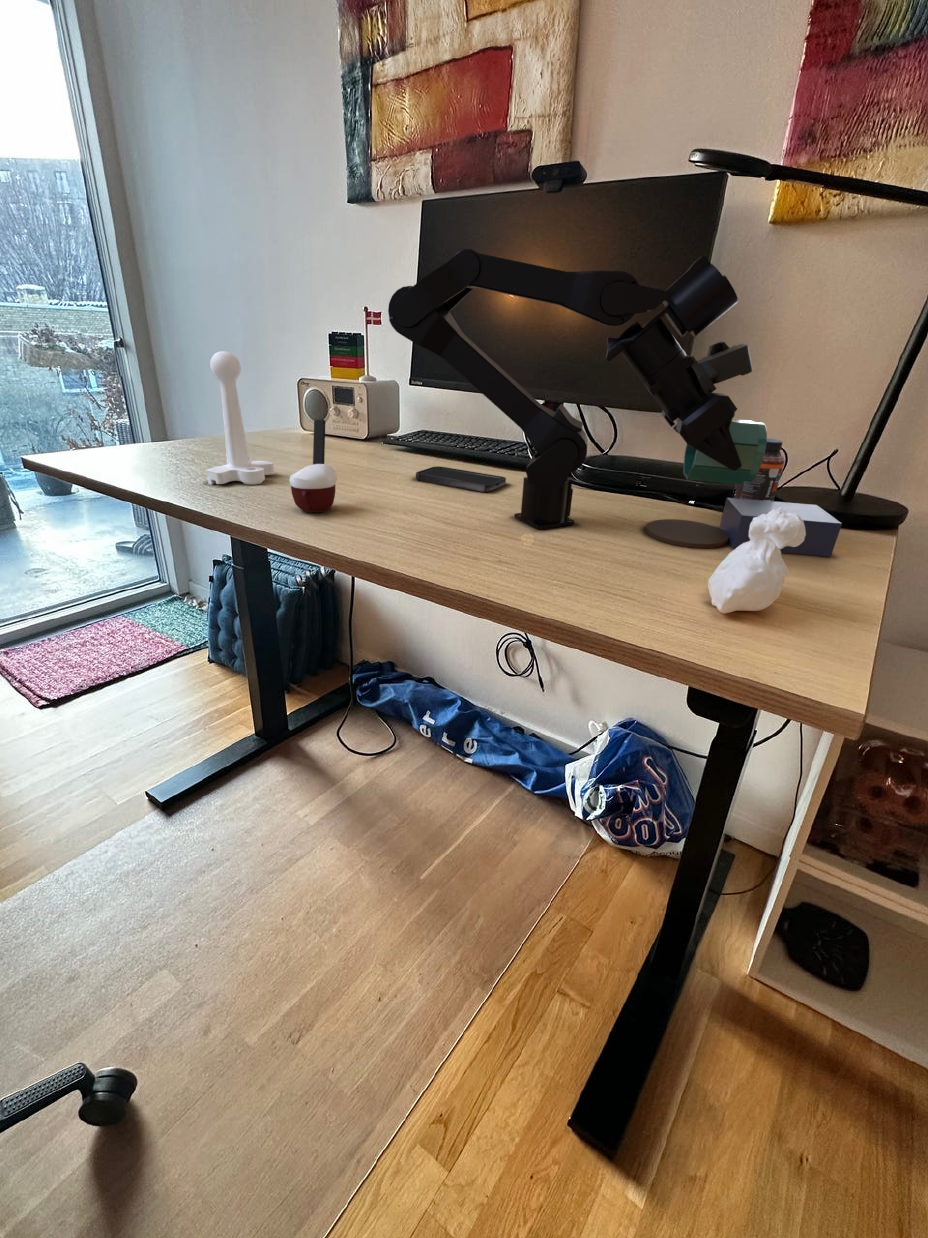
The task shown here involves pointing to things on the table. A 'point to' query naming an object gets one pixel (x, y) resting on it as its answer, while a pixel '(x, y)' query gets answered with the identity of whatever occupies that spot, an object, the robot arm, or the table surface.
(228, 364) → the joystick
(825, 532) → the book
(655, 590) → the table surface
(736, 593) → the white tied sack
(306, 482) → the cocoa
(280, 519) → the table surface
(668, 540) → the coaster
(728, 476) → the cup
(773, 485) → the supplement bottle
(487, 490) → the phone
